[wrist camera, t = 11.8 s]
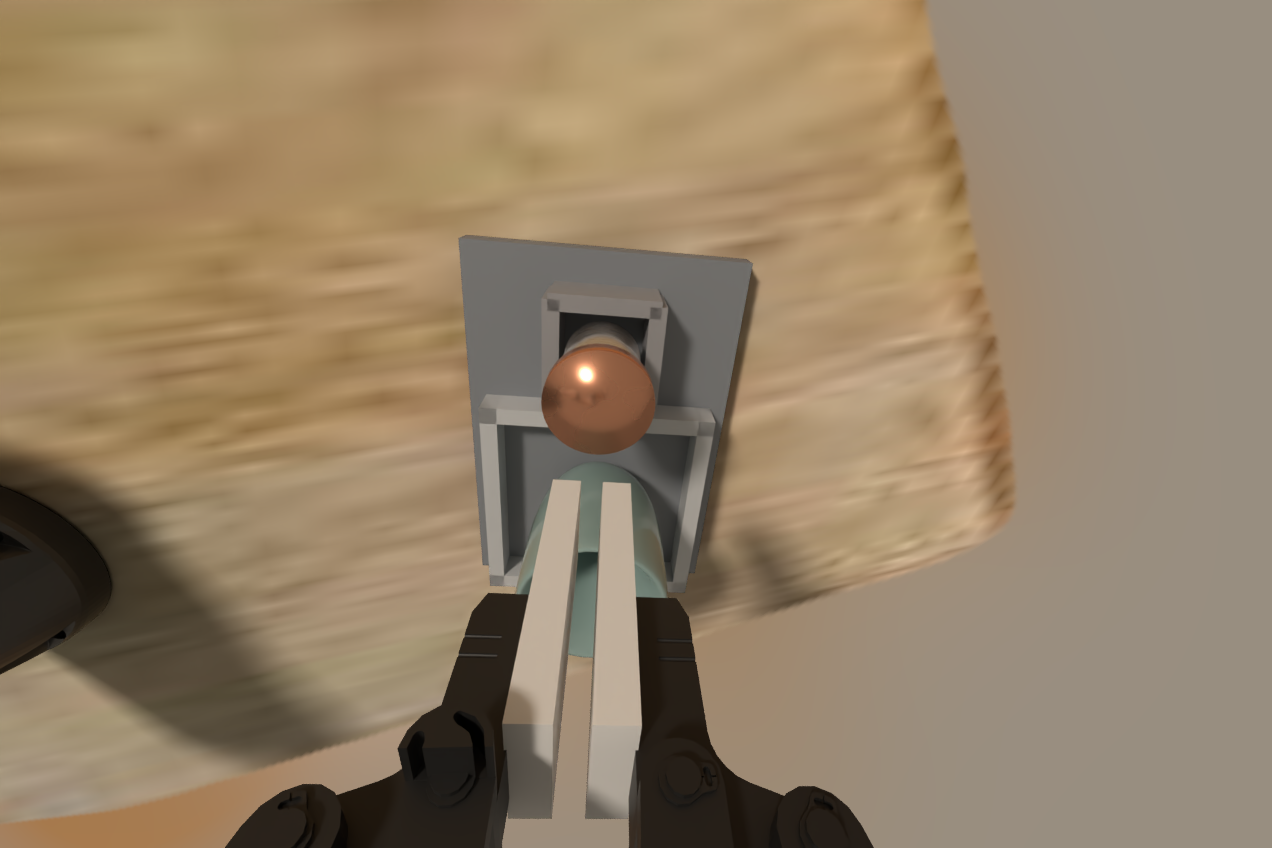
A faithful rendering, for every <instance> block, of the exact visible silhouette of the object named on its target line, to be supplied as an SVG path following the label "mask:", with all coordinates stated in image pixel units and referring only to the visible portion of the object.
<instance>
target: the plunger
mask: <svg viewBox="0 0 1272 848" xmlns="http://www.w3.org/2000/svg"><path fill="white" fill-rule="evenodd" d="M541 406H542V412H543V416H544V419H545V422H546V424H547V425H548V427H549V429H550V430H551V432H552V433H553V434H554V435H555V436H556V437H557V438H558V439H559V440H560V441H561V442H562V443H564V444H565V445H567V446H568V447H570V448H572V449H574V450H577V451H580V452H583V453H587V454H595V455H604V454H611V453H616V452H619V451H622V450H624V449H626V448H628V447H630V446H632V445H633V444H635V443H636V442H637V441H638V440H639V439H641V437H642V436H643V435H644V434H645V433H646V431H647V430H648V428H649V427H650V425H651V423H652V420H653V417H654V412H655V395H654V389H653V384H652V380H651V378H650V375H649V373H648V371H647V370H646V368H645V367H644V365H643V364H642V363H641V361H640V353H639V348H638V345H637V343H636V341H635V339H634V338H633V336H632V335H631V334H630V333H629V332H628V331H627V330H626V329H625V328H623V327H622V326H620V325H618V324H615V323H612V322H608V321H595V322H591V323H588V324H585V325H583V326H581V327H580V328H579V329H577V330H576V331H575V332H574V333H573V334H572V335H571V337H570V338H569V340H568V342H567V345H566V348H565V351H564V354H563V356H562V357H561V358H560V359H559V360H558V361H556V363H555V364H554V365H553V367H552V368H551V370H550V372H549V374H548V376H547V379H546V382H545V385H544V388H543V392H542V398H541Z"/></svg>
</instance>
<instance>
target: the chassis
mask: <svg viewBox="0 0 1272 848" xmlns="http://www.w3.org/2000/svg"><path fill="white" fill-rule="evenodd" d="M459 251H460V264H461V278H462V291H463V305H464V318H465V332H466V345H467V359H468V372H469V386H470V399H471V413H472V426H473V440H474V453H475V467H476V480H477V494H478V507H479V520H480V534H481V547H482V561H483V565H489V574H490V586H512V587H516V585H517V581H518V576H519V572H520V568H521V564H522V560H523V556H524V552H525V548H526V544H527V541H528V537H529V533H530V530H531V526H532V523H533V520H534V517H535V515H536V512H537V509H538V507H539V505H540V503H541V501H542V499H543V497H544V496H545V494H546V492H547V491H548V489H549V488H550V487H551V485H552V481H553V479H555V480H557V479H558V478H559V477H560V476H561V475H562V474H563V473H565V472H566V471H567V470H569V469H571V468H573V467H575V466H577V465H580V464H583V463H585V462H592V461H601V462H607V463H611V464H614V465H616V466H619V467H621V468H623V469H624V470H626V471H627V472H629V473H631V474H632V475H633V476H634V477H635V478H636V479H637V480H638V481H639V482H640V483H641V485H642V486H643V487H644V489H645V490H646V491H647V493H648V495H649V497H650V499H651V501H652V504H653V506H654V509H655V512H656V515H657V519H658V523H659V528H660V534H661V540H662V546H663V553H664V560H665V568H666V576H667V585H668V592H678V593H685V589H686V584H687V578H688V573H695V568H696V562H697V557H698V552H699V546H700V541H701V536H702V531H703V525H704V520H705V515H706V509H707V504H708V499H709V493H710V488H711V483H712V477H713V472H714V467H715V461H716V456H717V451H718V446H719V440H720V435H721V430H722V424H723V419H724V414H725V408H726V403H727V398H728V392H729V387H730V382H731V377H732V371H733V366H734V361H735V355H736V350H737V345H738V339H739V334H740V329H741V323H742V318H743V313H744V307H745V302H746V297H747V292H748V286H749V281H750V276H751V270H752V265H753V263H751V262H750V261H748V260H747V259H738V258H726V257H715V256H703V255H692V254H680V253H669V252H657V251H646V250H634V249H623V248H611V247H599V246H588V245H576V244H565V243H553V242H542V241H530V240H519V239H507V238H496V237H484V236H473V235H465V236H462V237H460V238H459ZM595 321H608V322H612V323H615V324H618V325H620V326H622V327H623V328H625V329H626V330H627V331H628V332H629V333H630V334H631V335H632V336H633V338H634V339H635V341H636V343H637V345H638V348H639V353H640V361H641V363H642V364H643V365H644V367H645V368H646V370H647V371H648V373H649V375H650V378H651V380H652V384H653V389H654V395H655V412H654V417H653V420H652V423H651V425H650V427H649V428H648V430H647V431H646V433H645V434H644V435H643V436H642V437H641V439H639V440H638V441H637V442H636V443H635V444H633V445H632V446H630V447H628V448H626V449H624V450H622V451H619V452H616V453H611V454H604V455H595V454H587V453H583V452H580V451H577V450H574V449H572V448H570V447H568V446H567V445H565V444H564V443H562V442H561V441H560V440H559V439H558V438H557V437H556V436H555V435H554V434H553V433H552V432H551V430H550V429H549V427H548V425H547V424H546V422H545V419H544V416H543V412H542V406H541V398H542V392H543V388H544V385H545V382H546V379H547V376H548V374H549V372H550V370H551V368H552V367H553V365H554V364H555V363H556V361H558V360H559V359H560V358H561V357H562V356H563V354H564V351H565V348H566V345H567V342H568V340H569V338H570V337H571V335H572V334H573V333H574V332H575V331H576V330H577V329H579V328H580V327H581V326H583V325H585V324H588V323H591V322H595Z"/></svg>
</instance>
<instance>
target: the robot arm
mask: <svg viewBox="0 0 1272 848" xmlns="http://www.w3.org/2000/svg"><path fill="white" fill-rule="evenodd" d="M580 495H581V481H575V480H555V479H553V481H552V486H551V491H550V496H549V501H548V505H547V510H546V515H545V520H544V525H543V530H542V534H541V539H540V544H539V549H538V554H537V558H536V563H535V568H534V573H533V578H532V582H531V587H530V592H529V594H501V593H488V594H487V595H486V596H485V597H484V599H483V600H482V601H481V602H480V603H479V604H478V606H477V607H476V608H475V609H474V610H473V611H472V614H471V617H470V620H469V623H468V626H467V629H466V632H465V637H464V638H463V641H462V644H461V647H460V650H459V656H458V657H457V660H456V663H455V666H454V669H453V672H452V675H451V678H450V681H449V684H448V687H447V690H446V693H445V696H444V699H443V702H442V705H441V706H439V707H437V708H435V709H433V710H432V711H430V712H428V713H426V714H424V715H422V716H421V717H420V718H419V719H418V720H417V721H416V722H415V723H414V724H413V725H412V726H411V727H410V728H409V729H408V730H407V732H406V734H405V736H404V738H403V739H402V741H401V743H400V745H399V747H398V752H399V756H400V761H401V765H402V769H401V770H400V771H398V772H397V773H395V774H394V775H392V776H390V777H387V778H385V779H383V780H380V781H378V782H375V783H372V784H369V785H366V786H363V787H360V788H357V789H354V790H351V791H348V792H345V793H342V794H339V795H336V794H335V792H333V791H331V790H330V789H328V788H327V787H325V786H323V785H321V784H302V785H299V786H297V787H294V788H291V789H288V790H285V791H282V792H280V793H279V794H277V795H276V796H274V797H273V798H272V799H270V800H268V801H267V802H265V803H264V804H262V805H261V806H260V807H259V808H258V809H257V810H256V811H255V812H254V813H253V814H252V815H251V816H250V817H249V819H247V821H246V822H245V823H244V824H243V825H242V826H241V827H240V828H239V830H238V831H237V832H236V834H235V835H234V836H233V838H232V839H231V840H230V841H229V843H228V844H227V846H226V847H225V848H502V839H503V833H504V828H505V822H506V816H507V810H508V818H522V819H525V818H527V819H530V818H533V819H541V818H542V819H545V818H546V819H549V818H550V819H551V818H552V810H553V800H554V789H555V779H556V770H557V760H558V749H559V739H560V730H561V720H562V710H563V700H564V689H565V680H566V670H567V660H568V650H569V641H570V631H571V621H572V611H573V601H574V591H575V581H576V571H577V561H578V542H579V518H580ZM110 592H111V584H110V579H109V575H108V572H107V569H106V567H105V565H104V563H103V561H102V560H101V558H100V556H99V555H98V553H97V552H96V551H95V549H94V548H93V547H92V546H91V544H90V543H89V542H88V541H87V540H86V539H85V538H84V537H83V536H82V535H81V534H80V533H79V532H78V531H77V530H75V529H74V528H73V527H72V526H71V525H70V524H68V523H67V522H66V521H64V520H63V519H62V518H60V517H59V516H57V515H56V514H54V513H53V512H51V511H50V510H48V509H47V508H45V507H43V506H42V505H40V504H38V503H36V502H34V501H32V500H31V499H29V498H27V497H25V496H22V495H20V494H18V493H16V492H13V491H11V490H9V489H6V488H3V487H1V486H0V674H2V673H4V672H6V671H8V670H10V669H12V668H14V667H16V666H18V665H20V664H22V663H24V662H26V661H28V660H30V659H32V658H34V657H36V656H38V655H39V654H41V653H43V652H45V651H47V650H49V649H51V648H53V647H55V646H57V645H59V644H61V643H63V642H65V641H66V640H68V639H69V638H71V637H72V636H74V635H75V634H76V633H77V632H79V631H80V630H81V629H82V628H83V627H85V626H86V625H87V624H88V623H89V622H90V621H92V620H93V619H94V618H95V617H96V616H98V615H99V614H100V613H101V612H102V611H103V609H104V608H105V607H106V605H107V603H108V601H109V597H110ZM589 731H590V732H589V751H588V752H589V753H588V773H587V792H586V793H587V794H586V814H585V818H586V819H628V814H629V848H874V847H873V845H872V844H871V842H870V840H869V838H868V836H867V835H866V833H865V831H864V829H863V827H862V826H861V824H860V823H859V821H858V820H857V818H856V817H855V816H854V814H853V813H852V812H851V810H850V809H849V807H848V806H847V805H845V804H844V803H843V802H842V801H840V800H839V799H838V798H837V797H836V796H834V795H833V794H832V793H830V792H827V791H825V790H822V789H820V788H817V787H815V786H799V787H797V788H795V789H794V790H792V791H790V792H788V793H786V795H785V796H783V795H780V794H778V793H775V792H773V791H770V790H768V789H765V788H762V787H760V786H757V785H754V784H752V783H750V782H748V781H746V780H744V779H742V778H740V777H738V776H736V775H735V774H734V773H733V772H732V771H730V770H729V769H728V768H727V767H726V766H725V765H724V764H723V762H722V761H721V760H720V759H719V757H718V756H717V755H716V753H715V751H714V749H713V747H712V745H711V743H710V739H709V735H708V732H707V727H706V720H705V714H704V708H703V702H702V695H701V689H700V684H699V677H698V671H697V665H696V662H695V653H694V647H693V644H692V634H691V628H690V622H689V617H688V615H687V614H686V612H685V611H684V609H683V608H682V606H681V605H680V603H679V601H678V600H677V598H653V597H636V588H635V566H634V545H633V523H632V502H631V483H613V482H603V488H602V503H601V518H600V533H599V548H598V564H597V585H596V606H595V626H594V647H593V668H592V690H591V710H590V730H589Z"/></svg>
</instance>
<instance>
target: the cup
mask: <svg viewBox="0 0 1272 848" xmlns="http://www.w3.org/2000/svg"><path fill="white" fill-rule="evenodd" d="M557 480H575V481H581V495H580V518H579V542H578V561H577V571H576V581H575V591H574V601H573V611H572V621H571V631H570V641H569V650H568V654H569V655H573V656H579V657H591V658H593V647H594V626H595V606H596V585H597V564H598V548H599V533H600V518H601V503H602V488H603V482H613V483H631V502H632V523H633V545H634V566H635V588H636V597H653V598H668V585H667V576H666V568H665V560H664V553H663V546H662V540H661V534H660V528H659V523H658V519H657V515H656V512H655V509H654V506H653V504H652V501H651V499H650V497H649V495H648V493H647V491H646V490H645V489H644V487H643V486H642V485H641V483H640V482H639V481H638V480H637V479H636V478H635V477H634V476H633V475H632V474H631V473H629V472H627V471H626V470H624V469H623V468H621V467H619V466H616V465H614V464H611V463H607V462H601V461H592V462H585V463H583V464H580V465H577V466H575V467H573V468H571V469H569V470H567V471H566V472H565V473H563V474H562V475H561V476H560V477H559V478H558V479H557ZM551 486H552V485H551ZM550 491H551V487H550V488H549V489H548V491H547V492H546V494H545V496H544V497H543V499H542V501H541V503H540V505H539V507H538V509H537V512H536V515H535V517H534V520H533V523H532V526H531V530H530V533H529V537H528V541H527V544H526V548H525V552H524V556H523V560H522V564H521V568H520V572H519V576H518V581H517V585H516V591H515V594H529V592H530V587H531V582H532V578H533V573H534V568H535V563H536V558H537V554H538V549H539V544H540V539H541V534H542V530H543V525H544V520H545V515H546V510H547V505H548V501H549V496H550Z"/></svg>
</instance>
